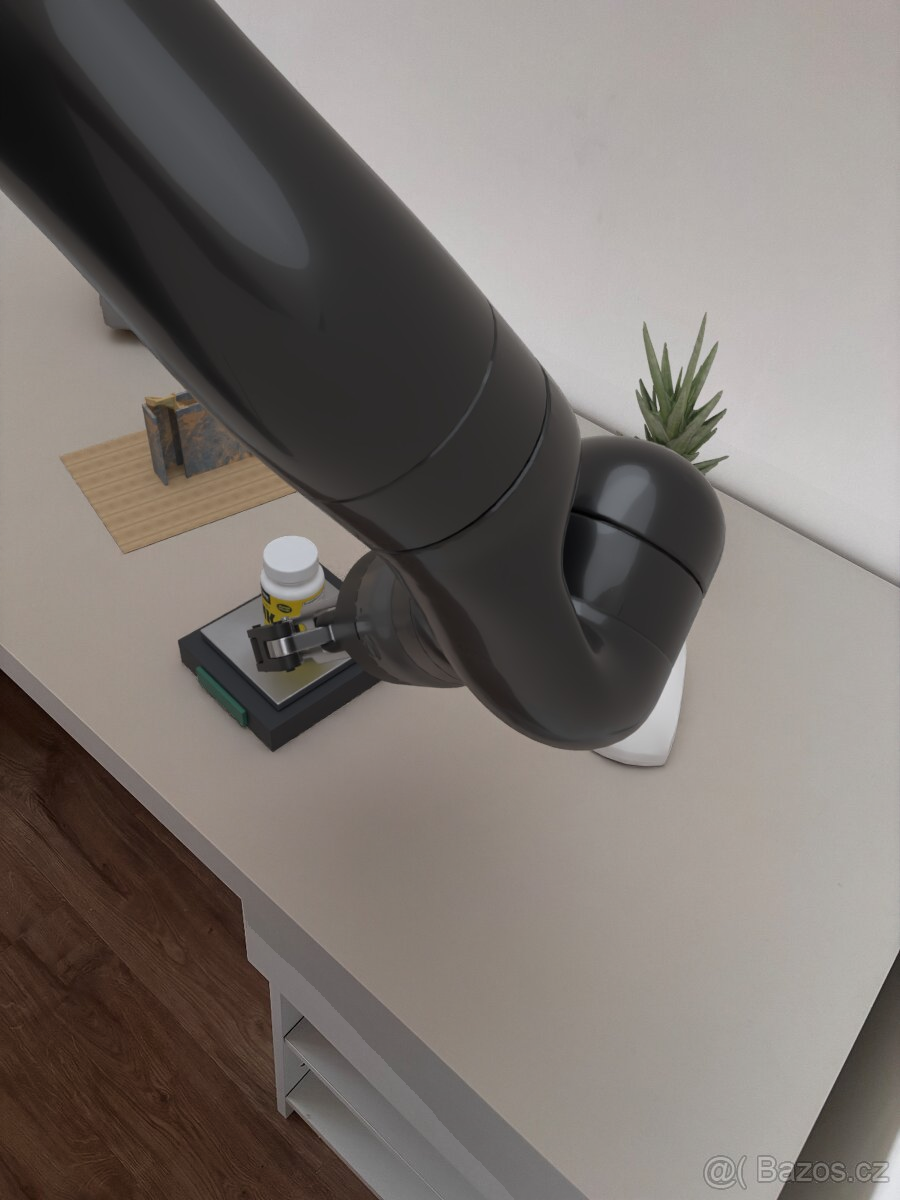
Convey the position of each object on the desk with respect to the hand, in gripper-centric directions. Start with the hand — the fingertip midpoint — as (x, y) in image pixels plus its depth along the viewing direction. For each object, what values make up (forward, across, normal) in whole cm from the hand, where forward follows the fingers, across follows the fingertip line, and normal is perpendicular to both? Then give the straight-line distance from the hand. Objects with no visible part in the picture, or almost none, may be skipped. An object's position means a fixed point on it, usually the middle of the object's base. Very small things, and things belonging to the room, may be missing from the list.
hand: (348, 619), depth 66 cm
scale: (+20, 0, +3) cm, 20 cm away
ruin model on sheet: (+39, -2, -17) cm, 43 cm away
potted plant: (+20, -34, +2) cm, 39 cm away
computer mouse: (+9, -23, +13) cm, 28 cm away
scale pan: (+18, 0, +1) cm, 18 cm away
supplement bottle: (+17, 0, +1) cm, 17 cm away
